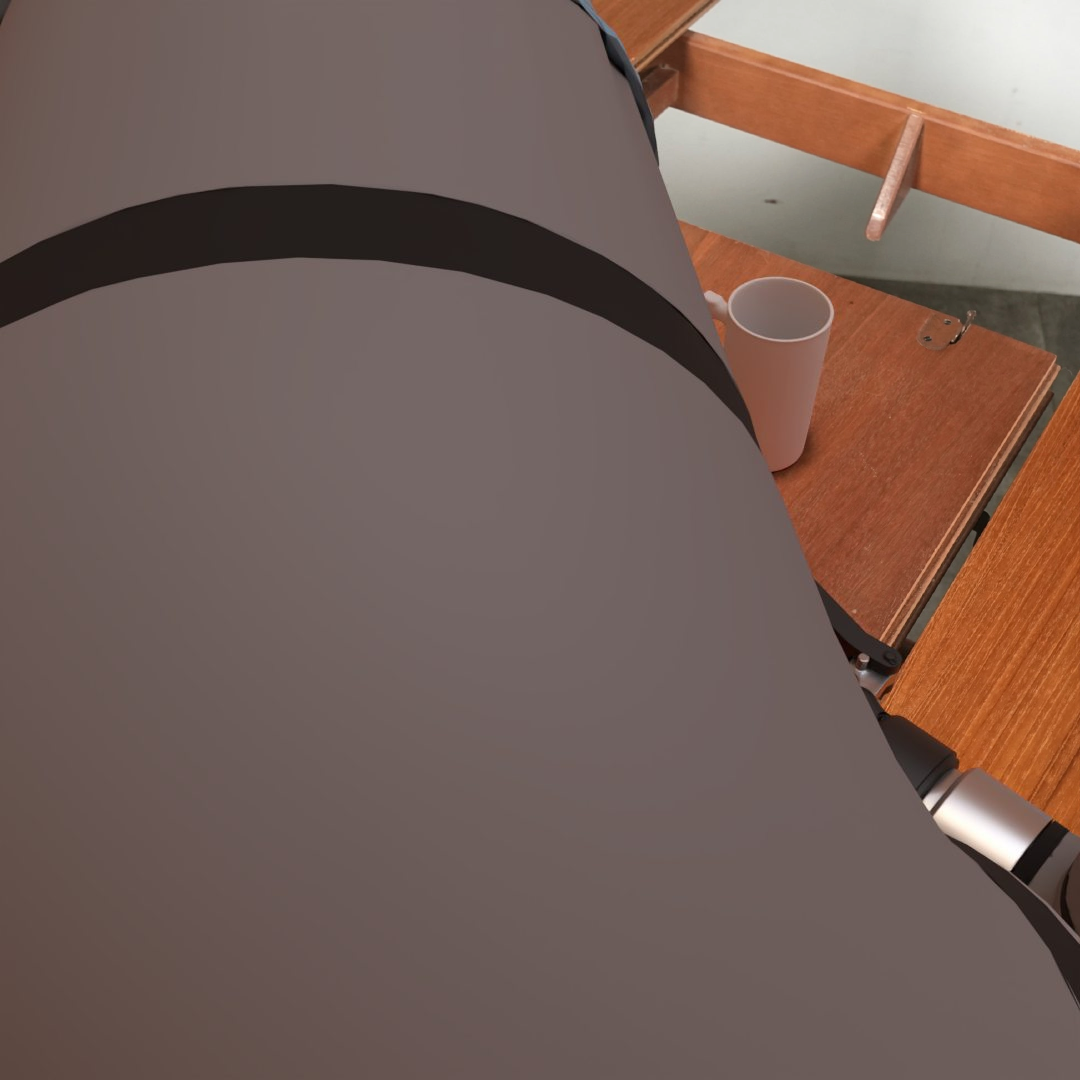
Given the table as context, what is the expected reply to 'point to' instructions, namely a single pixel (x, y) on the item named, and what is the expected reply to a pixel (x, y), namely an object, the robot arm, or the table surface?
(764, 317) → the mug
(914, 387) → the table surface
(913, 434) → the table surface
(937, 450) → the table surface
